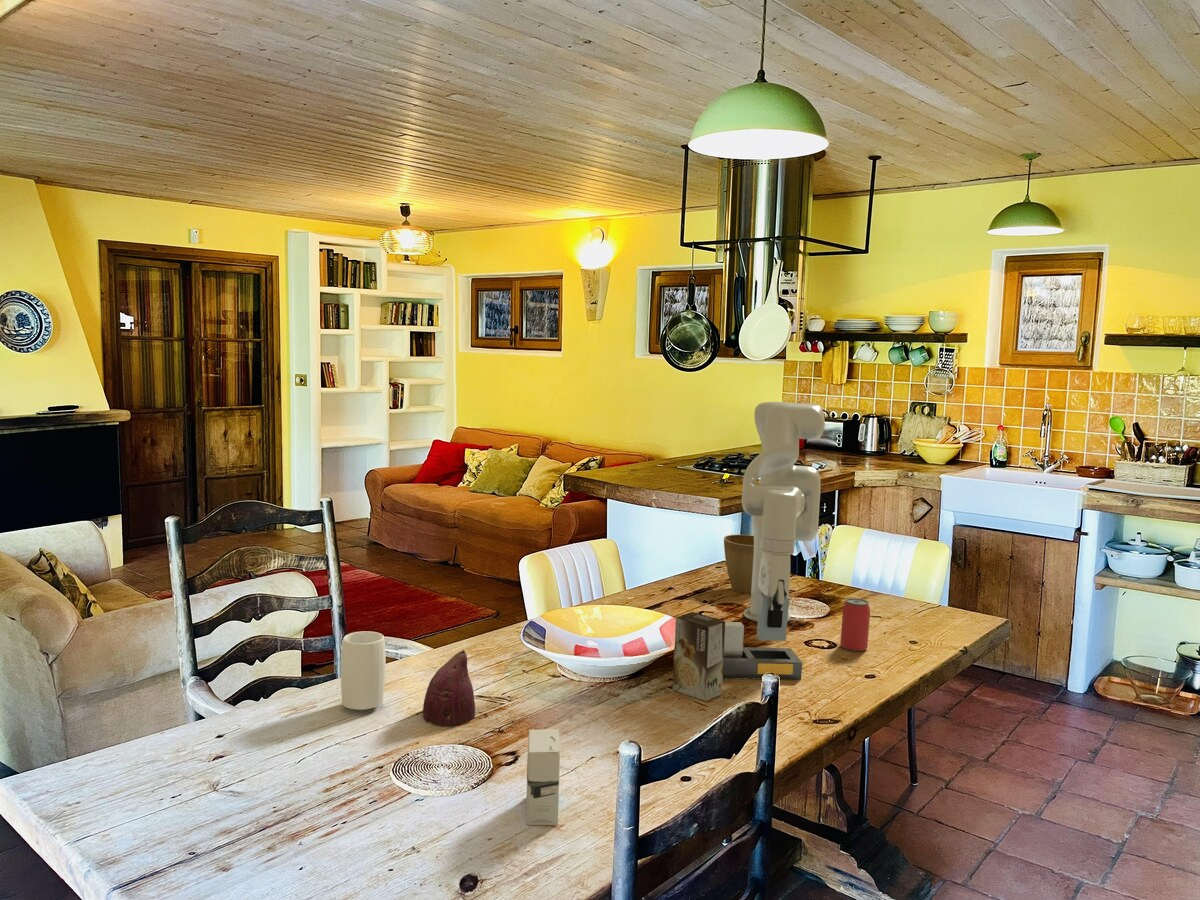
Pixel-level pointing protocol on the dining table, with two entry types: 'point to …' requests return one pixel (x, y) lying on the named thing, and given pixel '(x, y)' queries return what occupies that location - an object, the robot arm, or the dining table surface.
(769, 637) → the block
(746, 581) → the plant pot
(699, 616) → the coffee box
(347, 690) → the cup
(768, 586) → the robot arm
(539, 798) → the ink box
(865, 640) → the beer can
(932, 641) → the dining table surface
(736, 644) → the rack
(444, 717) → the vegetable
